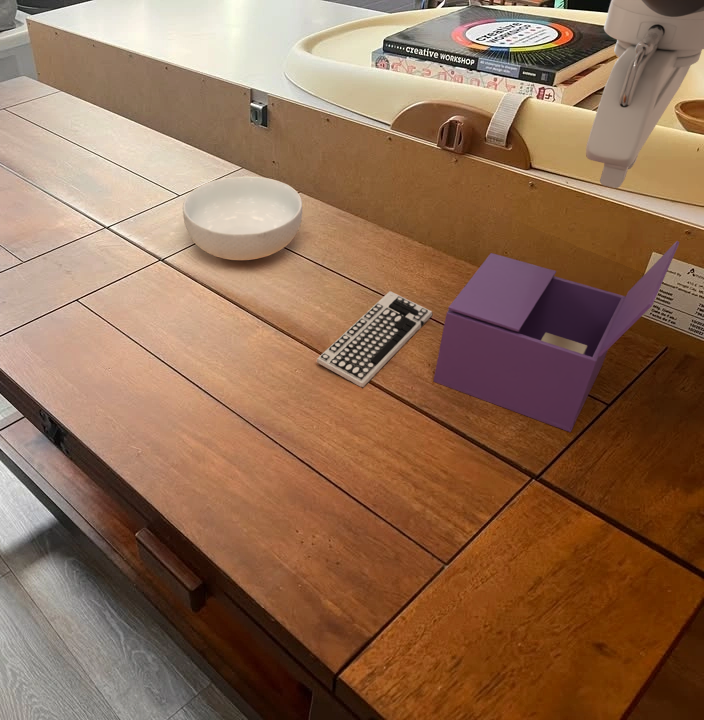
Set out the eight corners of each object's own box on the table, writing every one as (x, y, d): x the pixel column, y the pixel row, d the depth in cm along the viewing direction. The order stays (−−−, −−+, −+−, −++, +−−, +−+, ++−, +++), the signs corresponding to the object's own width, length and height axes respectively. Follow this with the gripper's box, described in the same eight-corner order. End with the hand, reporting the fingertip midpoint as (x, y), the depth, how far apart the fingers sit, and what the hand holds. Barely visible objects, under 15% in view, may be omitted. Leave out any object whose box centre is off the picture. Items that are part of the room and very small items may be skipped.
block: (576, 377, 85) (588, 345, 82) (565, 399, 82) (576, 367, 79) (536, 363, 87) (545, 331, 84) (523, 385, 84) (532, 353, 81)
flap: (628, 291, 81) (630, 292, 80) (597, 355, 72) (600, 357, 72) (676, 240, 75) (679, 242, 75) (649, 303, 67) (652, 305, 67)
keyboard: (363, 388, 85) (364, 377, 84) (315, 367, 88) (316, 356, 87) (432, 315, 95) (434, 305, 94) (387, 299, 98) (389, 289, 97)
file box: (602, 365, 87) (629, 291, 80) (570, 432, 79) (598, 355, 72) (474, 324, 94) (490, 252, 87) (433, 381, 85) (447, 307, 79)
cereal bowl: (187, 219, 116) (185, 176, 112) (296, 216, 116) (298, 173, 112) (182, 279, 103) (179, 233, 99) (305, 277, 103) (307, 231, 98)
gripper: (690, 54, 52) (627, 232, 61) (732, -12, 65) (675, 143, 74) (594, 40, 55) (547, 212, 64) (652, -20, 68) (607, 130, 77)
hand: (616, 174), depth 69 cm, fingers open, 3 cm apart
